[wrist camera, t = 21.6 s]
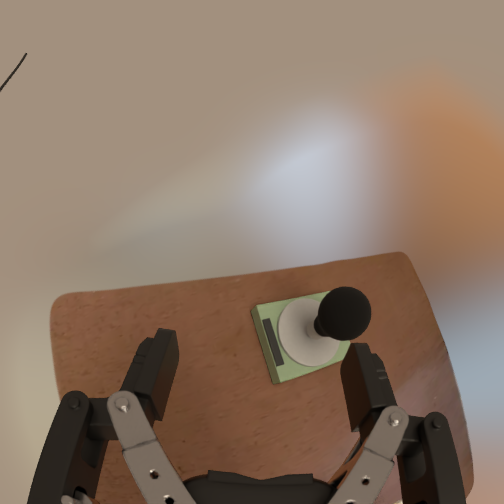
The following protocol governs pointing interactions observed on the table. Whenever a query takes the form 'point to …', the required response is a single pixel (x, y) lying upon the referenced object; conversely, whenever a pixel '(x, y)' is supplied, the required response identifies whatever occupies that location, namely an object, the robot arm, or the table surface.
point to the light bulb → (341, 315)
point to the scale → (294, 338)
